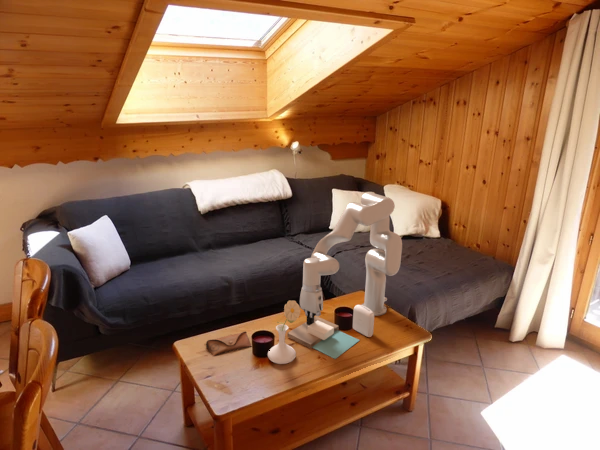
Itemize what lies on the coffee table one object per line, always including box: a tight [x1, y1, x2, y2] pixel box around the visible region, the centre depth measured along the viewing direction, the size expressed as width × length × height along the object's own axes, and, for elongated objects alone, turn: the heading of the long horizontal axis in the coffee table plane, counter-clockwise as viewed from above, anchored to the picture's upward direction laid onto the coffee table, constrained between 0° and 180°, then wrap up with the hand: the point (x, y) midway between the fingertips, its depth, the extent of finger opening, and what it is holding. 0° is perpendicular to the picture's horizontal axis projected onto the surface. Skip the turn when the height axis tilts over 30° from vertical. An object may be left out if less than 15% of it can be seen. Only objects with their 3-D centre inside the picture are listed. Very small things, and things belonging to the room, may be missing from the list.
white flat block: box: [308, 320, 334, 340], centre depth 178 cm, size 7×9×3 cm
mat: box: [311, 330, 361, 360], centre depth 174 cm, size 18×12×1 cm, turn 139°
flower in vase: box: [267, 300, 302, 365], centre depth 161 cm, size 13×11×25 cm
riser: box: [287, 316, 340, 349], centre depth 181 cm, size 20×13×2 cm, turn 139°
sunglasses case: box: [205, 331, 252, 357], centre depth 171 cm, size 18×7×7 cm, turn 118°
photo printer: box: [352, 304, 375, 338], centre depth 182 cm, size 10×4×12 cm, turn 39°
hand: (310, 323), depth 182 cm, fingers closed
